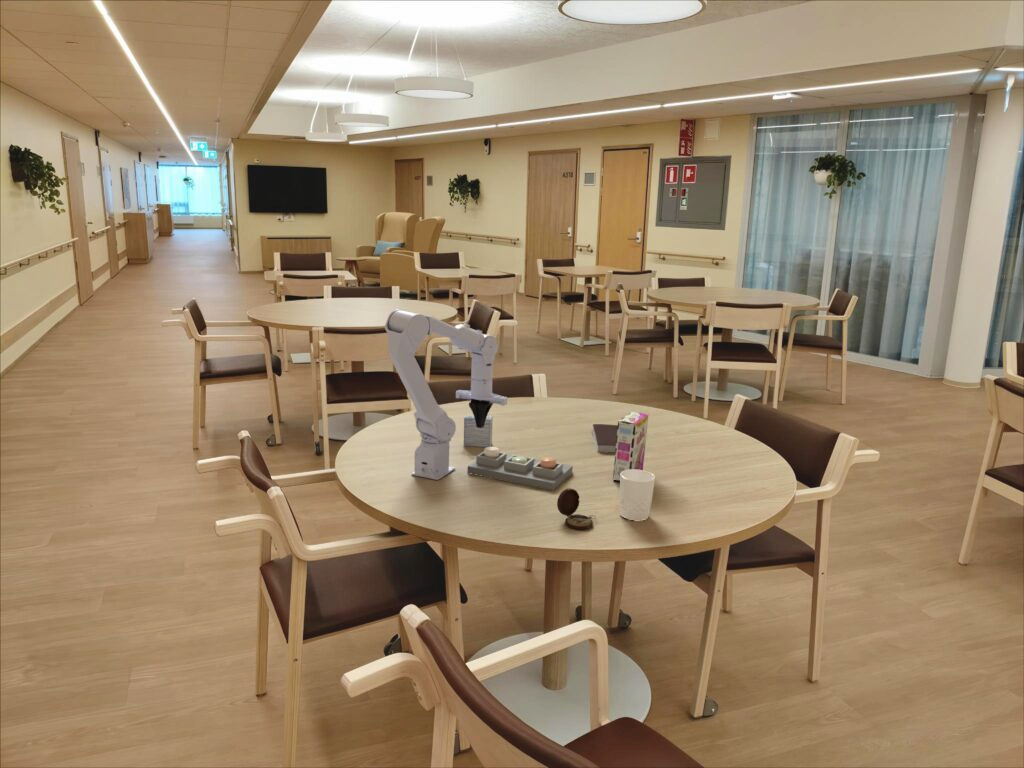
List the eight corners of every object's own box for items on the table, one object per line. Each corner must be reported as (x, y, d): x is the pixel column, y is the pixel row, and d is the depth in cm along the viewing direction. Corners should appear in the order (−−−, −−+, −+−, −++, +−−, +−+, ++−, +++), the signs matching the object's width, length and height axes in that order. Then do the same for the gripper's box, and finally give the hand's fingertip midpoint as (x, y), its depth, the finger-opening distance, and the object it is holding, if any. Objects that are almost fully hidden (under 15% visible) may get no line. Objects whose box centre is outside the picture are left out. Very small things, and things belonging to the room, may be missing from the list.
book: (631, 435, 235) (632, 425, 234) (640, 455, 216) (640, 445, 215) (591, 433, 235) (592, 423, 234) (596, 454, 216) (597, 443, 215)
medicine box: (492, 443, 220) (493, 415, 218) (490, 448, 216) (491, 419, 214) (465, 441, 221) (466, 413, 219) (463, 446, 217) (463, 417, 215)
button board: (553, 490, 186) (554, 475, 186) (467, 473, 196) (467, 458, 195) (572, 473, 199) (573, 458, 198) (490, 457, 208) (491, 443, 207)
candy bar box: (630, 485, 192) (635, 424, 188) (612, 481, 194) (616, 420, 190) (644, 472, 202) (649, 413, 198) (626, 468, 204) (631, 410, 200)
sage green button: (523, 470, 193) (523, 462, 193) (508, 467, 195) (509, 460, 194) (529, 465, 197) (529, 458, 196) (515, 462, 198) (515, 455, 198)
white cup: (647, 509, 178) (651, 469, 175) (654, 523, 170) (658, 482, 167) (614, 508, 177) (617, 468, 175) (620, 522, 170) (623, 481, 167)
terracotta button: (552, 470, 190) (552, 463, 190) (537, 468, 192) (538, 460, 191) (557, 466, 194) (558, 458, 193) (543, 463, 195) (543, 456, 195)
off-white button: (495, 460, 196) (495, 452, 196) (481, 457, 198) (481, 450, 197) (501, 455, 200) (501, 448, 199) (488, 453, 201) (488, 445, 201)
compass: (578, 533, 163) (580, 502, 162) (554, 520, 170) (556, 490, 168) (604, 524, 168) (607, 494, 166) (581, 512, 174) (582, 483, 173)
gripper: (512, 378, 202) (510, 427, 205) (464, 372, 207) (463, 419, 210) (501, 384, 195) (499, 434, 199) (452, 377, 201) (451, 425, 204)
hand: (480, 426), depth 204 cm, fingers closed
